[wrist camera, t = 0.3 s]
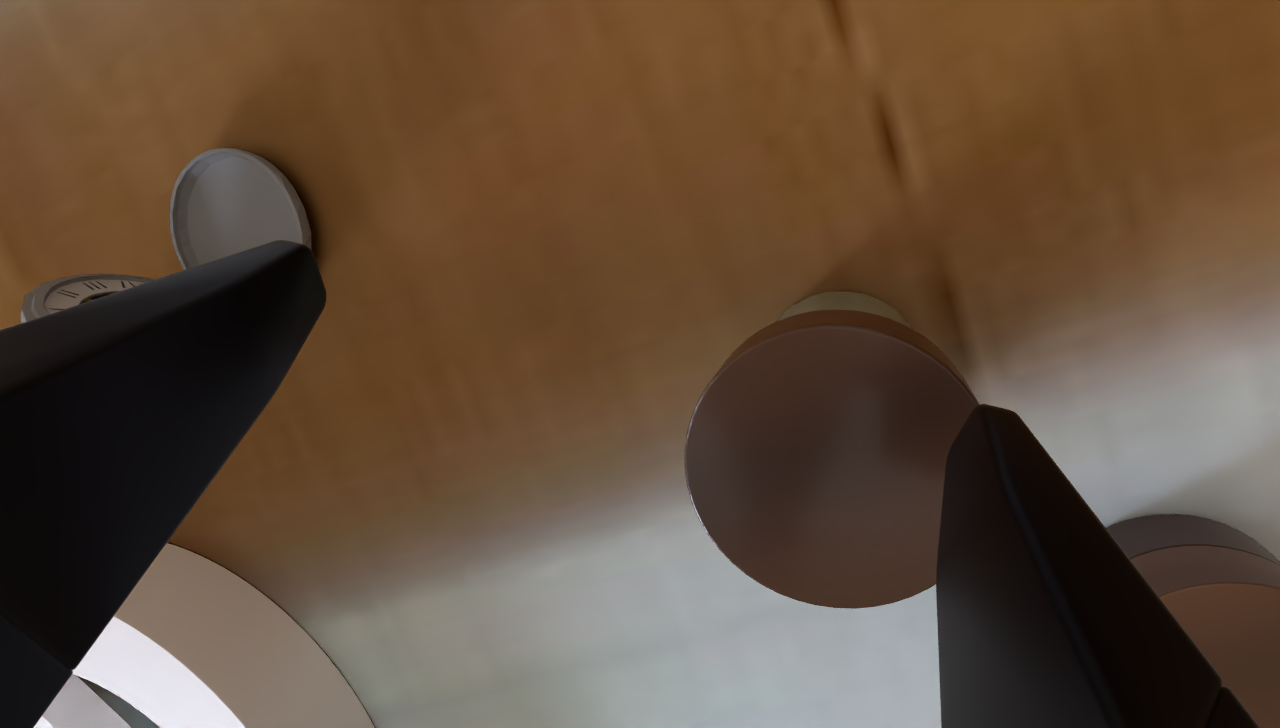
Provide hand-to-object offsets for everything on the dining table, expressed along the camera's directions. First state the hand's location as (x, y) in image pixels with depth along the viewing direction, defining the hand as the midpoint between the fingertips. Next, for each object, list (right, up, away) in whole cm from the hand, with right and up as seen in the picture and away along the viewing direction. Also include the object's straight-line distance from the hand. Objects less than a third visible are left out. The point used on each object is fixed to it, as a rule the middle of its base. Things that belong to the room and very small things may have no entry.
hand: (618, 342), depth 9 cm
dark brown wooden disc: (+5, -2, +7) cm, 9 cm away
